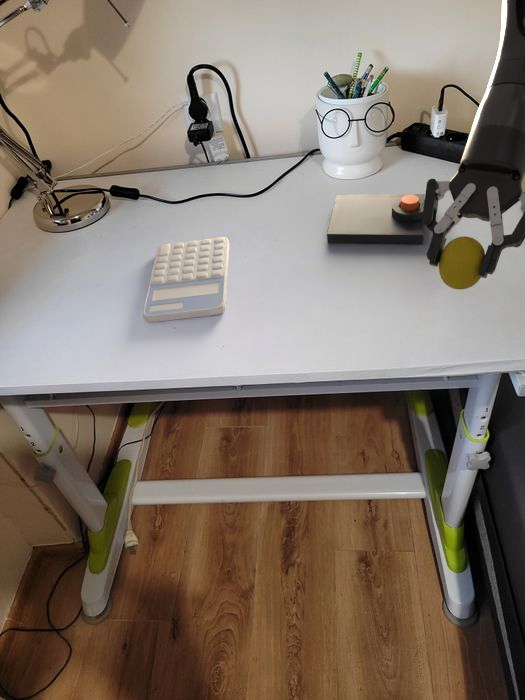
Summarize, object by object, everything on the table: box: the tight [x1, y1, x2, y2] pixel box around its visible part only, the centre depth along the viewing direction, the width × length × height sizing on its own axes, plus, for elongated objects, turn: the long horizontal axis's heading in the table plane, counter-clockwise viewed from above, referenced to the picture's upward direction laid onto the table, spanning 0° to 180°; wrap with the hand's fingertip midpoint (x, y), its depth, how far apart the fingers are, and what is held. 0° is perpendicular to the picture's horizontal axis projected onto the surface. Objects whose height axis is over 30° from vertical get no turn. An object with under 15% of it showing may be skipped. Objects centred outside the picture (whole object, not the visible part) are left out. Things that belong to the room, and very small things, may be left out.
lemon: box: [438, 235, 486, 291], centre depth 65 cm, size 6×6×8 cm
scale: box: [326, 193, 426, 245], centre depth 90 cm, size 16×13×4 cm
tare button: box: [401, 195, 419, 211], centre depth 87 cm, size 3×3×2 cm
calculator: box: [142, 236, 230, 323], centre depth 86 cm, size 13×20×2 cm, turn 0°
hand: (457, 270), depth 63 cm, fingers closed on lemon, 5 cm apart
